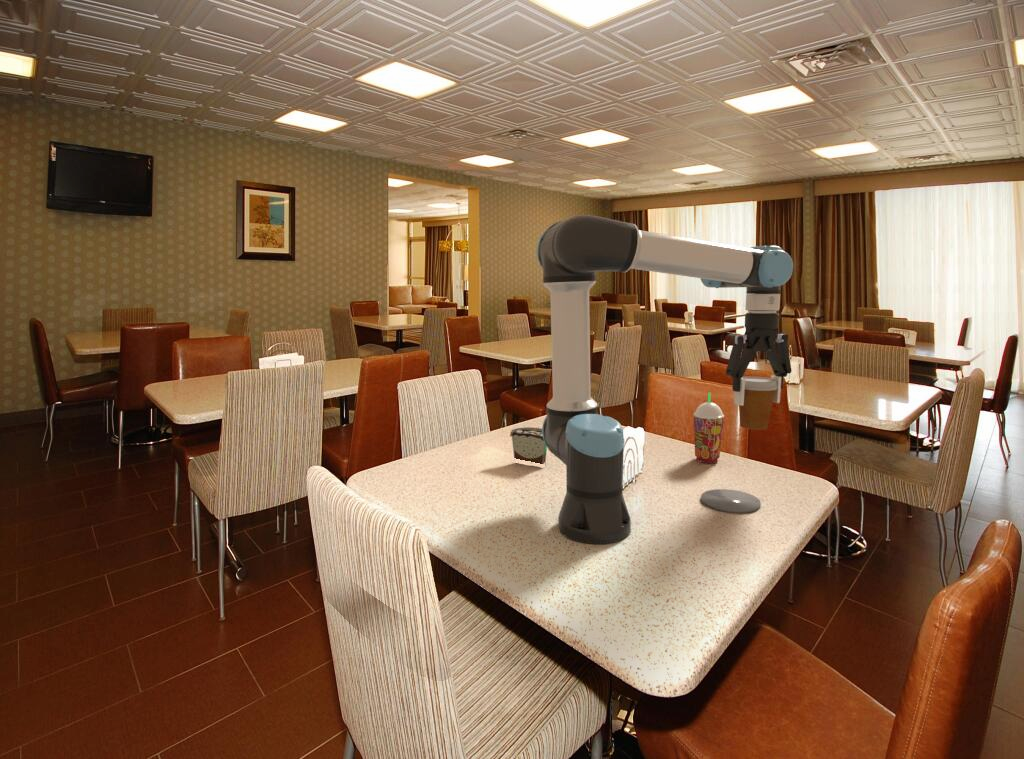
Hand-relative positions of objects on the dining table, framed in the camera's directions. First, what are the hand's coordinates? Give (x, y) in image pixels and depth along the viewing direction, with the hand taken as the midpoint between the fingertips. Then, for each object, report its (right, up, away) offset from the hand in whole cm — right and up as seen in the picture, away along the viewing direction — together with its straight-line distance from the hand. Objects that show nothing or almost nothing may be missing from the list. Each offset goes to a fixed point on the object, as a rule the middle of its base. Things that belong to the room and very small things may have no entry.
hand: (756, 403), depth 138 cm
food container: (-54, -19, +25) cm, 63 cm away
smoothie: (-4, -18, +25) cm, 31 cm away
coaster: (-9, -23, -7) cm, 26 cm away
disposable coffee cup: (0, -6, +1) cm, 6 cm away
